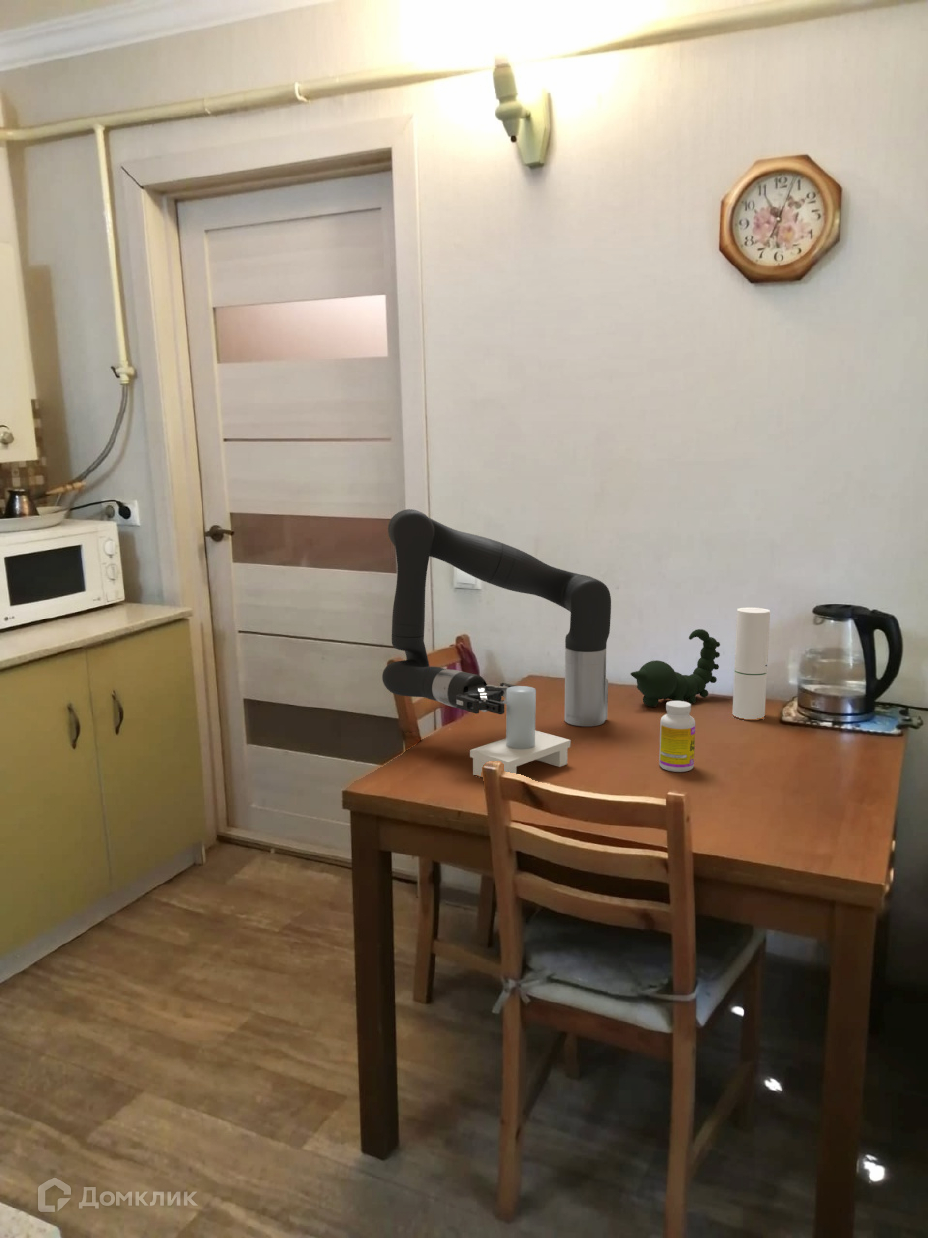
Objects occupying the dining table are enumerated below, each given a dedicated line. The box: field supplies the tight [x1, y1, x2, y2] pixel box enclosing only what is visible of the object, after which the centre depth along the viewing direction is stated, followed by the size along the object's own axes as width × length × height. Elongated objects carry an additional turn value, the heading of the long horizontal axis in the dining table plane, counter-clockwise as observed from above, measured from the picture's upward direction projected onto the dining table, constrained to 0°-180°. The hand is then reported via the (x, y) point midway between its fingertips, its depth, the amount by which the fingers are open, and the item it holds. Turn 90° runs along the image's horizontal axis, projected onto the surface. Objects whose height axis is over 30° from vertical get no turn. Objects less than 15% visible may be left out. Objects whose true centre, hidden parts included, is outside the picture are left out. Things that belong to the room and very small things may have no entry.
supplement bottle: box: [658, 700, 696, 773], centre depth 179 cm, size 7×7×13 cm
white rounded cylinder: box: [505, 685, 537, 749], centre depth 178 cm, size 6×6×11 cm
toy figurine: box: [630, 628, 721, 708], centre depth 224 cm, size 9×19×25 cm
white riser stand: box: [469, 729, 571, 776], centre depth 179 cm, size 18×10×5 cm, turn 135°
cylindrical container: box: [731, 607, 771, 719], centre depth 211 cm, size 7×7×25 cm
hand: (518, 704), depth 178 cm, fingers open, 8 cm apart
